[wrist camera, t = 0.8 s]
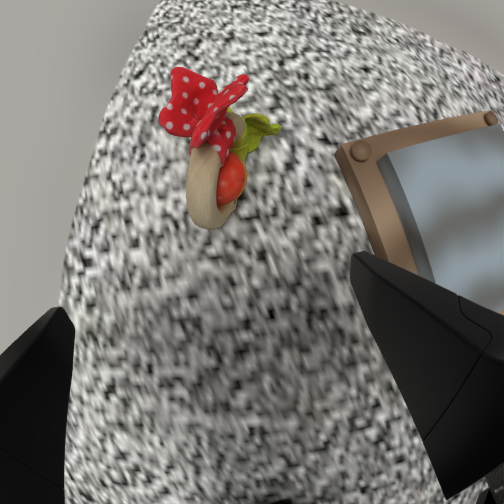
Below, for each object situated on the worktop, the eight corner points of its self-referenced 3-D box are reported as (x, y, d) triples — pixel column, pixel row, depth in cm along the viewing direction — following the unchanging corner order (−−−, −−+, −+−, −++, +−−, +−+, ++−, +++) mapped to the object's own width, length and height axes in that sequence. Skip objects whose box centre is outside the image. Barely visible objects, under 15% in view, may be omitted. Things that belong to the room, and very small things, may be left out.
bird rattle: (268, 216, 24) (285, 101, 21) (268, 272, 14) (299, 64, 11) (189, 205, 24) (202, 92, 21) (133, 252, 14) (151, 54, 11)
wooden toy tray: (533, 282, 22) (559, 282, 18) (408, 369, 22) (434, 383, 18) (478, 118, 23) (500, 102, 19) (334, 154, 23) (349, 132, 19)
